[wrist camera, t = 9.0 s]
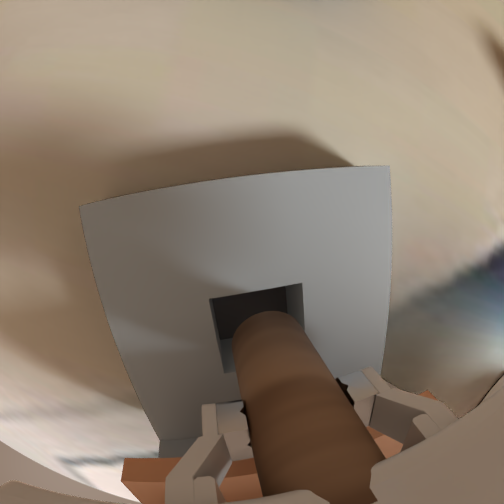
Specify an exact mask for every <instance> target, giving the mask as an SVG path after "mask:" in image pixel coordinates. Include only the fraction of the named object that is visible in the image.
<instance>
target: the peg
mask: <svg viewBox="0 0 504 504" xmlns="http://www.w3.org/2000/svg"><path fill="white" fill-rule="evenodd" d="M232 353H233V358H234V363H235V369H236V374H237V379H238V384H239V390H240V395H241V399H242V401H243V405H244V410H245V415H246V420H247V424H248V429H249V434H250V443H251V447H252V452H253V456H254V461H255V465H256V470H257V474H258V478H259V482H260V487H261V491H262V495H263V497H266V496H271V495H276V494H281V493H286V492H290V491H294V490H309V491H312V492H313V493H314V494H316V495H317V496H319V497H321V498H323V499H324V500H326V501H328V502H329V503H330V504H372V503H374V502H377V501H378V500H377V498H376V497H375V495H374V494H373V492H372V490H371V489H370V481H371V469H372V467H373V466H374V465H375V464H376V463H378V462H380V461H382V460H385V459H386V458H385V456H384V455H383V453H382V451H381V450H380V448H379V447H378V445H377V444H376V442H375V441H374V439H373V437H372V436H371V434H370V433H369V431H368V430H367V428H366V427H365V425H364V423H363V422H362V420H361V419H360V417H359V416H358V414H357V413H356V411H355V409H354V408H353V406H352V405H351V403H350V402H349V400H348V398H347V397H346V395H345V394H344V392H343V391H342V389H341V388H340V386H339V384H338V383H337V381H336V380H335V378H334V377H333V375H332V374H331V372H330V370H329V369H328V367H327V366H326V364H325V363H324V361H323V360H322V358H321V356H320V355H319V353H318V352H317V350H316V349H315V347H314V346H313V344H312V342H311V341H310V339H309V338H308V336H307V335H306V333H305V332H304V330H303V328H302V327H301V325H300V324H299V322H298V321H297V320H296V319H295V318H294V317H292V316H291V315H289V314H287V313H284V312H280V311H265V312H261V313H258V314H255V315H253V316H251V317H249V318H248V319H246V320H245V321H244V322H243V323H242V324H241V325H240V326H239V327H238V328H237V330H236V331H235V333H234V336H233V339H232Z"/></svg>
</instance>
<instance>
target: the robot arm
mask: <svg viewBox="0 0 504 504" xmlns="http://www.w3.org/2000/svg"><path fill="white" fill-rule="evenodd" d="M335 380H336V381H337V383H338V384H339V386H340V388H341V389H342V391H343V392H344V394H345V395H346V397H347V398H348V400H349V402H350V403H351V405H352V406H353V408H354V409H355V411H356V413H357V414H358V416H359V417H360V419H361V420H362V422H363V423H364V425H365V427H367V426H369V427H371V428H373V429H375V430H377V431H378V432H380V433H382V434H384V435H386V436H388V437H390V438H392V439H394V440H396V441H398V442H400V443H402V444H403V446H402V449H401V451H400V453H398V454H396V455H394V456H391V457H389V458H387V459H385V460H382V461H380V462H378V463H376V464H375V465H374V466H373V467H372V469H371V481H370V489H371V490H372V492H373V494H374V495H375V497H376V498H377V500H378V501H377V502H374V503H372V504H504V375H503V376H502V377H501V378H500V380H499V381H498V382H497V383H496V384H495V385H494V387H493V388H492V389H491V390H490V391H489V393H488V394H487V395H486V397H485V398H484V399H483V401H482V402H481V403H480V405H478V406H477V407H476V408H474V409H473V410H471V411H470V412H469V413H467V414H466V415H464V416H463V417H461V418H460V419H459V418H458V417H457V416H456V415H455V414H454V413H453V412H452V411H451V410H450V409H449V408H448V407H447V406H446V405H445V404H444V403H443V402H441V401H437V400H434V399H430V398H427V397H423V396H420V395H416V394H413V393H410V392H407V391H403V390H400V389H397V388H392V389H391V388H390V387H389V386H388V384H387V383H386V382H385V381H384V380H383V379H382V378H381V376H380V375H379V374H378V373H377V372H376V371H375V370H374V368H373V367H371V366H369V367H366V368H364V369H361V370H359V371H355V372H352V373H349V374H346V375H342V376H339V377H336V379H335ZM202 433H203V436H201V437H198V438H197V440H196V441H195V442H194V443H193V445H192V446H191V447H190V448H189V450H188V451H187V452H186V453H185V455H184V456H183V457H182V458H181V460H180V461H179V462H178V463H177V465H176V466H175V467H174V468H173V469H172V471H171V472H170V473H169V474H168V475H167V477H166V481H165V504H330V503H329V502H328V501H326V500H324V499H323V498H321V497H319V496H317V495H316V494H314V493H313V492H312V491H309V490H294V491H290V492H286V493H281V494H276V495H271V496H266V497H261V498H255V499H249V500H242V501H234V502H226V500H225V498H224V496H223V494H222V492H221V490H220V488H219V486H220V485H221V483H222V481H223V479H224V477H225V476H226V474H227V472H228V470H229V468H230V466H231V464H232V461H238V460H244V459H249V458H254V456H253V452H252V447H251V443H250V434H249V429H248V424H247V420H246V415H245V410H244V405H243V401H242V399H241V400H234V401H227V402H219V403H213V404H203V405H202ZM0 504H124V503H114V502H107V501H100V500H93V499H87V498H81V497H76V496H71V495H67V494H62V493H58V492H54V491H50V490H46V489H43V488H39V487H36V486H32V485H29V484H26V483H23V482H20V481H16V480H10V481H8V482H6V483H4V484H2V485H1V486H0Z"/></svg>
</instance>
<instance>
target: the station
mask: <svg viewBox="0 0 504 504" xmlns="http://www.w3.org/2000/svg"><path fill="white" fill-rule="evenodd" d="M79 210H80V216H81V221H82V226H83V231H84V236H85V241H86V245H87V250H88V254H89V258H90V262H91V266H92V270H93V274H94V278H95V281H96V285H97V288H98V292H99V295H100V299H101V302H102V305H103V308H104V311H105V314H106V317H107V320H108V323H109V326H110V329H111V332H112V335H113V338H114V340H115V343H116V346H117V348H118V351H119V354H120V356H121V359H122V361H123V364H124V366H125V369H126V371H127V373H128V376H129V378H130V380H131V383H132V385H133V387H134V390H135V392H136V394H137V396H138V398H139V400H140V402H141V405H142V407H143V409H144V411H145V413H146V415H147V417H148V419H149V421H150V423H151V425H152V427H153V429H154V430H155V432H156V434H157V436H158V438H159V440H160V446H159V458H125V459H124V465H123V471H122V477H121V482H122V483H123V484H124V485H125V486H126V487H127V488H128V489H129V490H130V491H131V492H132V494H133V495H134V496H135V497H136V498H137V499H138V500H139V501H140V502H141V503H142V504H165V481H166V477H167V475H168V474H169V473H170V472H171V471H172V469H173V468H174V467H175V466H176V465H177V463H178V462H179V461H180V460H181V458H182V457H183V456H184V455H185V453H186V452H187V451H188V450H189V448H190V447H191V446H192V445H193V443H194V442H195V441H196V440H197V438H198V437H201V436H203V433H202V405H203V404H213V403H219V402H227V401H234V400H241V395H240V390H239V384H238V379H237V374H236V369H235V363H234V358H233V353H232V339H233V336H234V333H235V331H236V330H237V328H238V327H239V326H240V325H241V324H242V323H243V322H244V321H245V320H246V319H248V318H249V317H251V316H253V315H255V314H258V313H261V312H265V311H280V312H284V313H287V314H289V315H291V316H292V317H294V318H295V319H296V320H297V321H298V322H299V324H300V325H301V327H302V328H303V330H304V332H305V333H306V335H307V336H308V338H309V339H310V341H311V342H312V344H313V346H314V347H315V349H316V350H317V352H318V353H319V355H320V356H321V358H322V360H323V361H324V363H325V364H326V366H327V367H328V369H329V370H330V372H331V374H332V375H333V377H334V378H335V379H336V377H339V376H342V375H346V374H349V373H352V372H355V371H359V370H361V369H364V368H366V367H369V366H371V367H373V368H374V370H375V371H376V372H377V373H378V374H379V375H381V369H382V363H383V356H384V349H385V342H386V333H387V325H388V315H389V303H390V289H391V270H392V199H391V180H390V167H389V166H348V167H330V168H316V169H303V170H292V171H281V172H271V173H262V174H253V175H245V176H237V177H229V178H222V179H214V180H208V181H201V182H194V183H188V184H182V185H176V186H170V187H165V188H159V189H154V190H148V191H143V192H138V193H133V194H128V195H123V196H118V197H114V198H109V199H105V200H101V201H97V202H93V203H89V204H86V205H82V206H79ZM419 395H420V396H423V397H427V398H430V399H434V400H437V399H436V398H435V397H434V396H433V395H432V394H431V393H430V392H429V391H428V390H427V391H425V392H423V393H421V394H419ZM437 401H438V400H437ZM366 428H367V430H368V431H369V433H370V434H371V436H372V437H373V439H374V441H375V442H376V444H377V445H378V447H379V448H380V450H381V451H382V453H383V455H384V456H385V458H386V459H387V458H389V457H391V456H394V455H396V454H398V453H400V451H401V449H402V446H403V444H402V443H400V442H398V441H396V440H394V439H392V438H390V437H388V436H386V435H384V434H382V433H380V432H378V431H377V430H375V429H373V428H371V427H369V426H367V427H366ZM219 488H220V490H221V492H222V494H223V496H224V498H225V500H226V502H234V501H242V500H249V499H255V498H261V497H263V495H262V491H261V487H260V482H259V478H258V474H257V470H256V465H255V461H254V458H249V459H244V460H238V461H232V464H231V466H230V468H229V470H228V472H227V474H226V476H225V477H224V479H223V481H222V483H221V485H220V486H219Z"/></svg>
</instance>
